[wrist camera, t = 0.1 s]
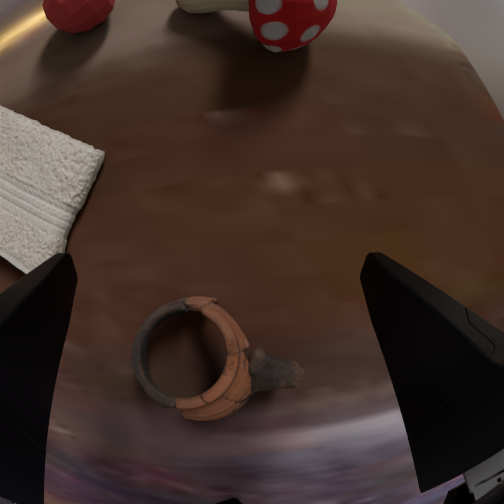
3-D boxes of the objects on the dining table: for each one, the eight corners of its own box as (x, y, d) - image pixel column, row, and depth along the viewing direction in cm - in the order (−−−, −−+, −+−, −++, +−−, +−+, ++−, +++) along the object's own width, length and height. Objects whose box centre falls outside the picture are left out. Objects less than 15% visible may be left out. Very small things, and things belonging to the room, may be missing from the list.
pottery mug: (165, 409, 24) (118, 416, 16) (170, 310, 28) (127, 282, 20) (302, 415, 22) (306, 431, 15) (300, 308, 26) (303, 278, 19)
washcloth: (-6, 104, 20) (-21, 95, 17) (114, 154, 22) (103, 143, 19) (-48, 206, 19) (-65, 204, 16) (60, 283, 22) (43, 288, 19)
